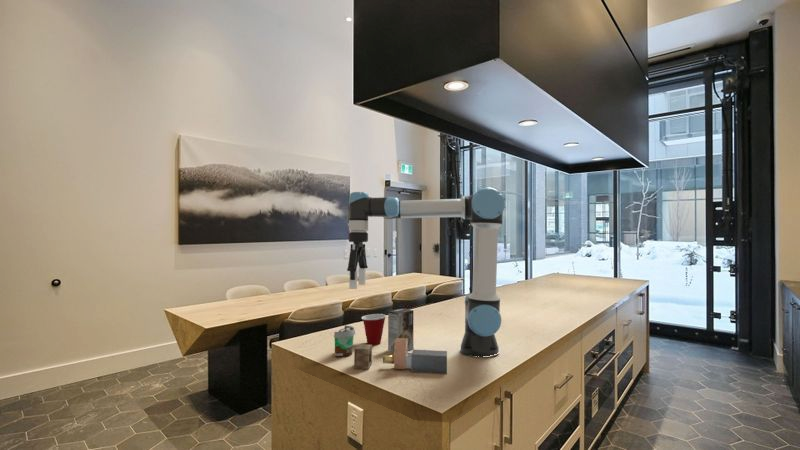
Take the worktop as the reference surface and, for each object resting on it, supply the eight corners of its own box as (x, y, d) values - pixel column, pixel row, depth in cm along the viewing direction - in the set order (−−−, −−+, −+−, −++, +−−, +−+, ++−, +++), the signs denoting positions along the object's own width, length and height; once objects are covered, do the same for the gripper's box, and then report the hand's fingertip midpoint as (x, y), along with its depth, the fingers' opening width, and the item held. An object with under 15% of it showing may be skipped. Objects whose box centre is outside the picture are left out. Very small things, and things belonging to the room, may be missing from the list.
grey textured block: (371, 364, 137) (372, 344, 138) (368, 369, 131) (368, 349, 132) (358, 363, 138) (358, 344, 138) (354, 369, 132) (354, 348, 132)
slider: (445, 366, 134) (445, 339, 134) (445, 371, 129) (445, 343, 129) (384, 363, 136) (384, 337, 137) (382, 367, 131) (382, 340, 132)
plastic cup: (361, 340, 171) (361, 313, 171) (385, 339, 172) (385, 313, 172) (360, 346, 160) (361, 318, 160) (386, 346, 161) (386, 318, 161)
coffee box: (402, 346, 162) (403, 308, 162) (413, 349, 157) (414, 310, 158) (387, 350, 155) (387, 310, 156) (398, 353, 151) (398, 312, 151)
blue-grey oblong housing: (446, 368, 134) (447, 351, 134) (446, 374, 128) (446, 356, 128) (413, 366, 135) (413, 349, 136) (411, 372, 130) (411, 354, 130)
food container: (349, 360, 142) (349, 333, 143) (333, 358, 143) (334, 332, 144) (359, 350, 154) (359, 325, 155) (344, 349, 155) (345, 325, 156)
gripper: (356, 232, 161) (356, 282, 160) (339, 230, 136) (338, 290, 135) (374, 232, 160) (373, 283, 159) (360, 231, 135) (359, 291, 134)
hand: (357, 286), depth 147 cm, fingers open, 13 cm apart
